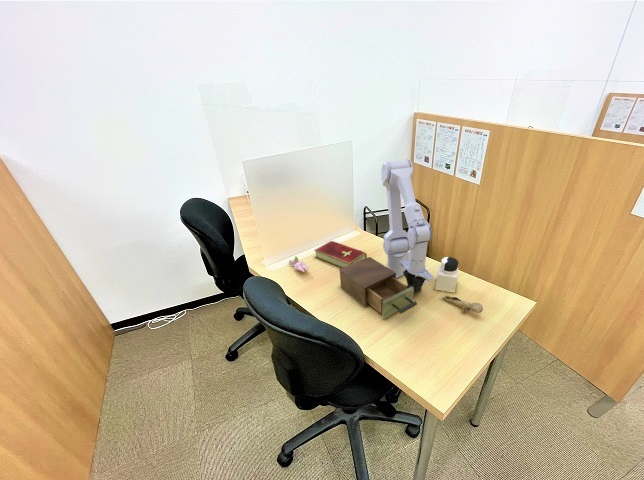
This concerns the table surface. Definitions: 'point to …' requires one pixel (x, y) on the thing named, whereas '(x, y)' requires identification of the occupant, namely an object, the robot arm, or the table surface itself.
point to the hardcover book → (339, 254)
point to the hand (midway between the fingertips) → (414, 289)
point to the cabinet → (363, 278)
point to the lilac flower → (298, 265)
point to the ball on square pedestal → (447, 275)
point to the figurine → (465, 304)
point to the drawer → (390, 297)
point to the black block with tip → (414, 287)
